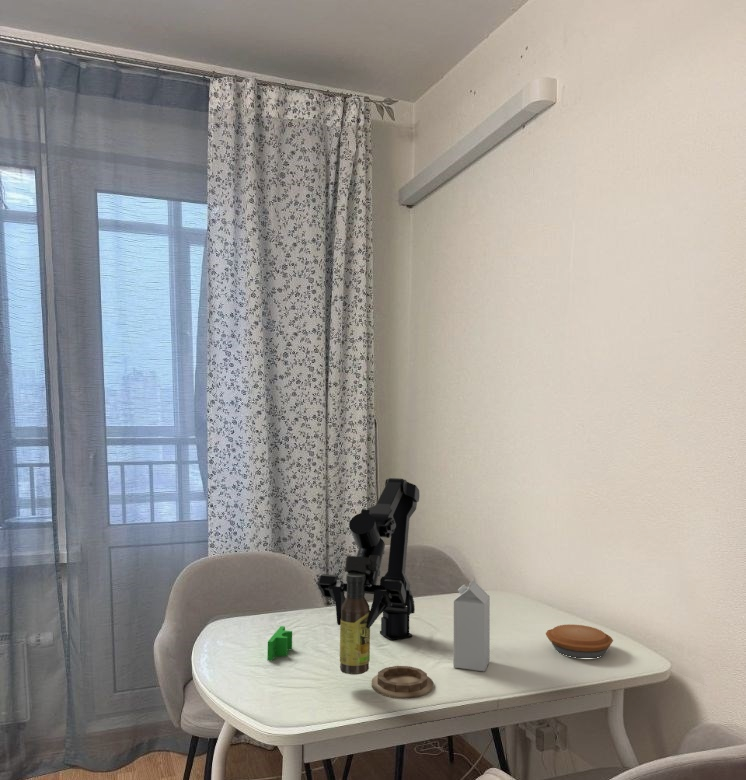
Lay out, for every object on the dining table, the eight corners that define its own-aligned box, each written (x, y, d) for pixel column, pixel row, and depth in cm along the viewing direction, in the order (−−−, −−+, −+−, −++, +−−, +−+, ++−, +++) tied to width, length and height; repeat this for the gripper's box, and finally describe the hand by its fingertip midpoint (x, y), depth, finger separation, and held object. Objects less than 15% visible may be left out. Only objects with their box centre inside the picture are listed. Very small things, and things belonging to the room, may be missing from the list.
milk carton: (489, 661, 152) (489, 578, 153) (484, 672, 145) (484, 586, 146) (459, 657, 154) (459, 576, 155) (453, 668, 147) (453, 583, 148)
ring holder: (413, 669, 147) (413, 660, 147) (445, 691, 135) (445, 681, 135) (361, 679, 141) (361, 669, 141) (389, 703, 129) (390, 692, 129)
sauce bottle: (365, 678, 132) (366, 579, 133) (335, 675, 134) (336, 577, 135) (372, 666, 139) (373, 571, 139) (344, 663, 140) (345, 569, 141)
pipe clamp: (283, 662, 151) (283, 642, 151) (267, 661, 151) (267, 641, 151) (295, 645, 162) (295, 626, 162) (280, 644, 162) (280, 625, 162)
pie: (626, 655, 157) (626, 634, 157) (582, 668, 148) (582, 645, 149) (575, 636, 170) (575, 617, 170) (532, 647, 162) (532, 627, 162)
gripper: (320, 537, 144) (300, 602, 133) (403, 542, 138) (389, 610, 127) (332, 564, 151) (314, 628, 140) (411, 571, 146) (399, 637, 135)
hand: (353, 625), depth 135 cm, fingers closed on sauce bottle, 6 cm apart
